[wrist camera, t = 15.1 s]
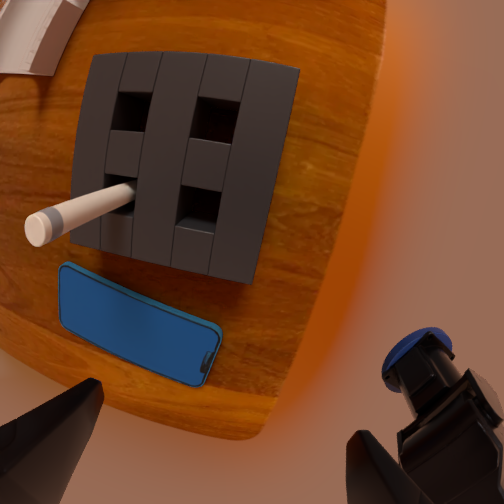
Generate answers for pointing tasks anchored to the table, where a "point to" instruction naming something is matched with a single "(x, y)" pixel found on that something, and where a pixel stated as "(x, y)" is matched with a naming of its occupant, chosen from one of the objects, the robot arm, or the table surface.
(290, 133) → the table surface
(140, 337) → the smartphone
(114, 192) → the stylus
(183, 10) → the table surface
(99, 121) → the pen stand
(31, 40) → the skate ramp
